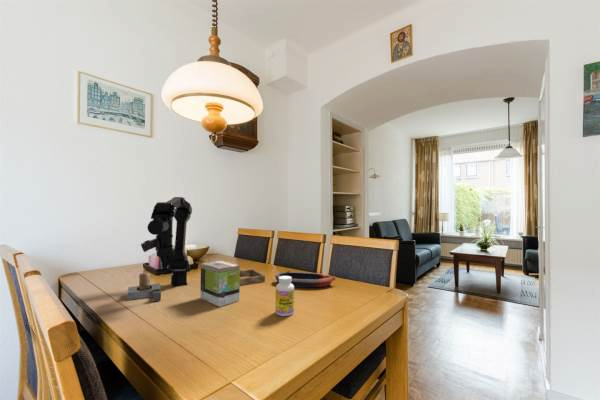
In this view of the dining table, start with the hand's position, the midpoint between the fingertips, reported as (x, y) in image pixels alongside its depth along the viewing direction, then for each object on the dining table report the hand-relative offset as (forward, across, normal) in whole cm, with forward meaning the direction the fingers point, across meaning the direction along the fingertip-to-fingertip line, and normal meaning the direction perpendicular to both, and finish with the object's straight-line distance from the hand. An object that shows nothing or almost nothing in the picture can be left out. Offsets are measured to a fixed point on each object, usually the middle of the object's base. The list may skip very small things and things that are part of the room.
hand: (164, 269), depth 112 cm
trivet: (+12, -12, +38) cm, 42 cm away
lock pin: (+12, -4, -3) cm, 13 cm away
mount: (+12, -10, -7) cm, 17 cm away
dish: (+12, +10, +62) cm, 64 cm away
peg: (+12, -10, -7) cm, 17 cm away
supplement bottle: (+12, +38, +37) cm, 54 cm away
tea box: (+12, +12, +20) cm, 26 cm away
